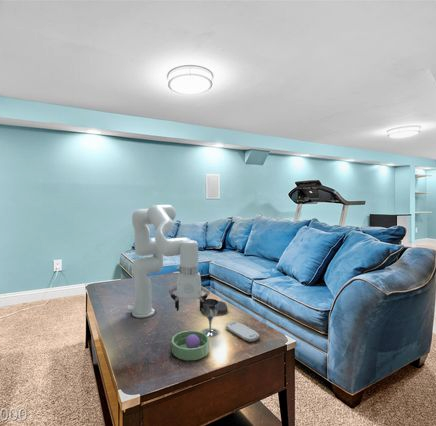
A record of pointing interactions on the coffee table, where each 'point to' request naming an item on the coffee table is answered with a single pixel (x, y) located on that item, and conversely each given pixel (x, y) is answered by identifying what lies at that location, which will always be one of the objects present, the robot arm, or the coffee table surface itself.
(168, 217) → the robot arm
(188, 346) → the ball
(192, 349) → the bowl
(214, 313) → the wine glass
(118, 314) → the coffee table surface
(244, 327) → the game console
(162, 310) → the coffee table surface
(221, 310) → the media streaming box
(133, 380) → the coffee table surface
